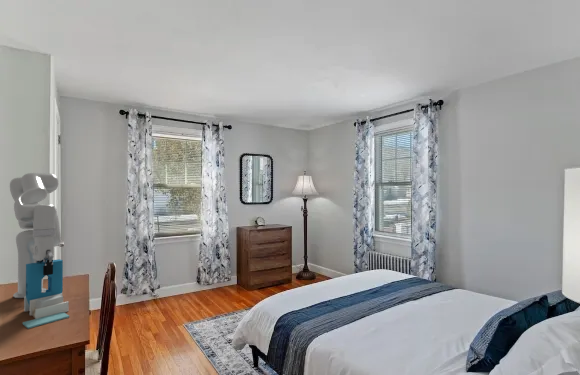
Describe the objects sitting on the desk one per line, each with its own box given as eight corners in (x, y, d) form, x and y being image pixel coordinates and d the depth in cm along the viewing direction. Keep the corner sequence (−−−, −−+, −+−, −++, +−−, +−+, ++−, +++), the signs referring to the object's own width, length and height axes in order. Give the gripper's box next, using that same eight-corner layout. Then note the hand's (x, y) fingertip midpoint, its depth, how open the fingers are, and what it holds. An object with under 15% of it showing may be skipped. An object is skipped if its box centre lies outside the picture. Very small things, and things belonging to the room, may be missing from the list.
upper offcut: (35, 308, 126) (35, 300, 126) (57, 301, 133) (57, 294, 133) (41, 309, 124) (41, 302, 124) (63, 303, 131) (63, 296, 131)
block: (28, 314, 127) (28, 265, 128) (25, 312, 130) (25, 264, 131) (63, 306, 137) (63, 260, 137) (59, 303, 140) (59, 259, 140)
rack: (24, 311, 131) (24, 296, 131) (55, 303, 140) (55, 290, 140) (35, 319, 122) (35, 304, 122) (68, 311, 131) (68, 297, 131)
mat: (22, 323, 118) (22, 322, 118) (62, 313, 129) (62, 311, 129) (28, 328, 114) (28, 327, 114) (69, 317, 124) (69, 315, 124)
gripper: (27, 233, 136) (27, 272, 135) (40, 235, 125) (39, 278, 125) (48, 231, 142) (48, 269, 141) (62, 233, 132) (62, 274, 131)
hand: (44, 273), depth 133 cm, fingers open, 9 cm apart
